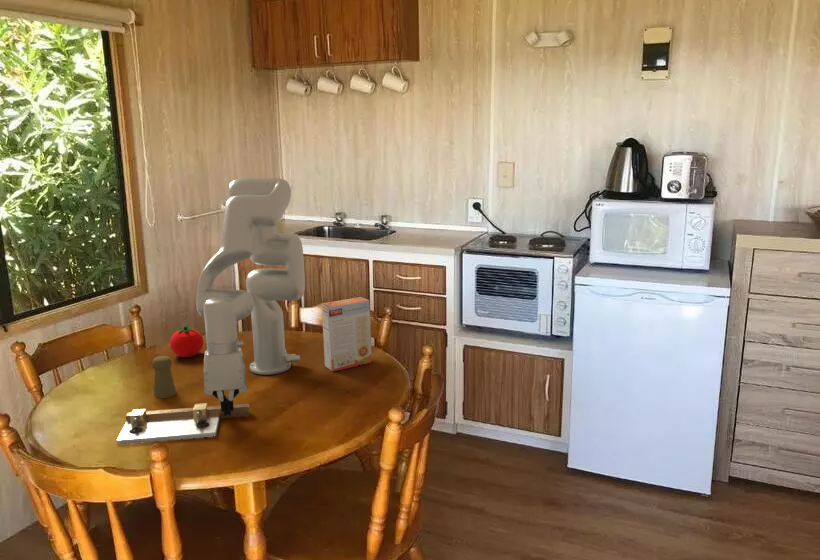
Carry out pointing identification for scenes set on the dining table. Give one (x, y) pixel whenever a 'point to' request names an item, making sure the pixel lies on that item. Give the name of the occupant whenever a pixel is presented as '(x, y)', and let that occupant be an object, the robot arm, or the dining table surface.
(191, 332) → the tomato
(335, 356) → the cracker box
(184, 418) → the hole plate
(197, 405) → the block
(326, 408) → the dining table surface
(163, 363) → the salt shaker
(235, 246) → the robot arm
